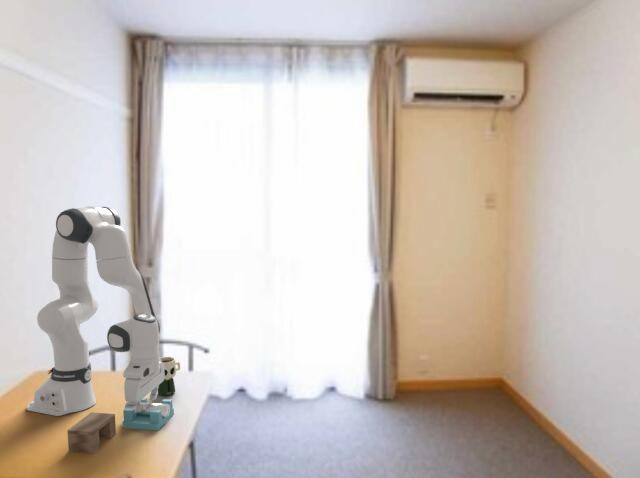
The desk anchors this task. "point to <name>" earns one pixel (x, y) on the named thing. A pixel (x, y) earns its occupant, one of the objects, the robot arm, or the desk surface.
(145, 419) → the teal cradle
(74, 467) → the desk surface
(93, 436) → the wooden bridge block
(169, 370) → the character mug
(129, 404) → the steel axle
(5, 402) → the desk surface
